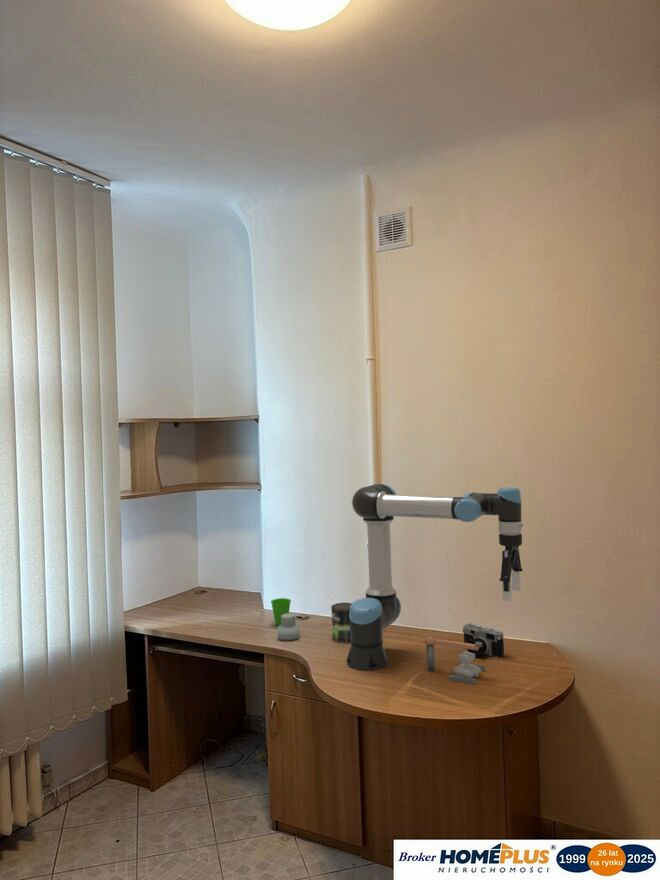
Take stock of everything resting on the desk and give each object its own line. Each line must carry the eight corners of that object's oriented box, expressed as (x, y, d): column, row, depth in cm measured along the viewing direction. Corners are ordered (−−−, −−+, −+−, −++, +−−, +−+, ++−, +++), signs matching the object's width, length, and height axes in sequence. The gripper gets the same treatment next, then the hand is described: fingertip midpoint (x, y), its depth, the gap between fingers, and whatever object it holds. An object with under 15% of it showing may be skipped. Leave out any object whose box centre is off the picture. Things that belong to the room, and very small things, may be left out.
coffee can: (339, 646, 240) (338, 611, 240) (327, 639, 249) (326, 605, 249) (362, 641, 245) (361, 607, 244) (349, 634, 254) (348, 601, 253)
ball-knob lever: (423, 643, 213) (423, 636, 213) (427, 640, 216) (426, 633, 216) (481, 652, 203) (480, 645, 203) (483, 649, 206) (483, 641, 206)
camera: (452, 652, 231) (451, 626, 231) (468, 645, 238) (467, 619, 237) (491, 664, 218) (490, 637, 218) (507, 657, 224) (506, 630, 224)
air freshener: (298, 643, 245) (297, 619, 245) (277, 644, 245) (276, 619, 245) (299, 634, 256) (298, 610, 256) (279, 635, 256) (279, 611, 256)
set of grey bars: (418, 677, 209) (417, 649, 209) (430, 663, 220) (429, 637, 220) (475, 687, 200) (474, 658, 199) (485, 672, 211) (484, 645, 210)
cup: (294, 627, 265) (293, 602, 265) (274, 630, 262) (273, 605, 262) (288, 621, 273) (287, 597, 273) (269, 624, 270) (268, 599, 270)
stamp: (484, 678, 206) (483, 654, 206) (472, 684, 202) (472, 659, 202) (462, 671, 213) (461, 647, 213) (450, 677, 208) (450, 652, 208)
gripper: (513, 540, 193) (515, 606, 194) (529, 527, 215) (530, 587, 215) (489, 539, 197) (491, 603, 197) (507, 526, 218) (509, 585, 219)
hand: (511, 595), depth 206 cm, fingers open, 13 cm apart
